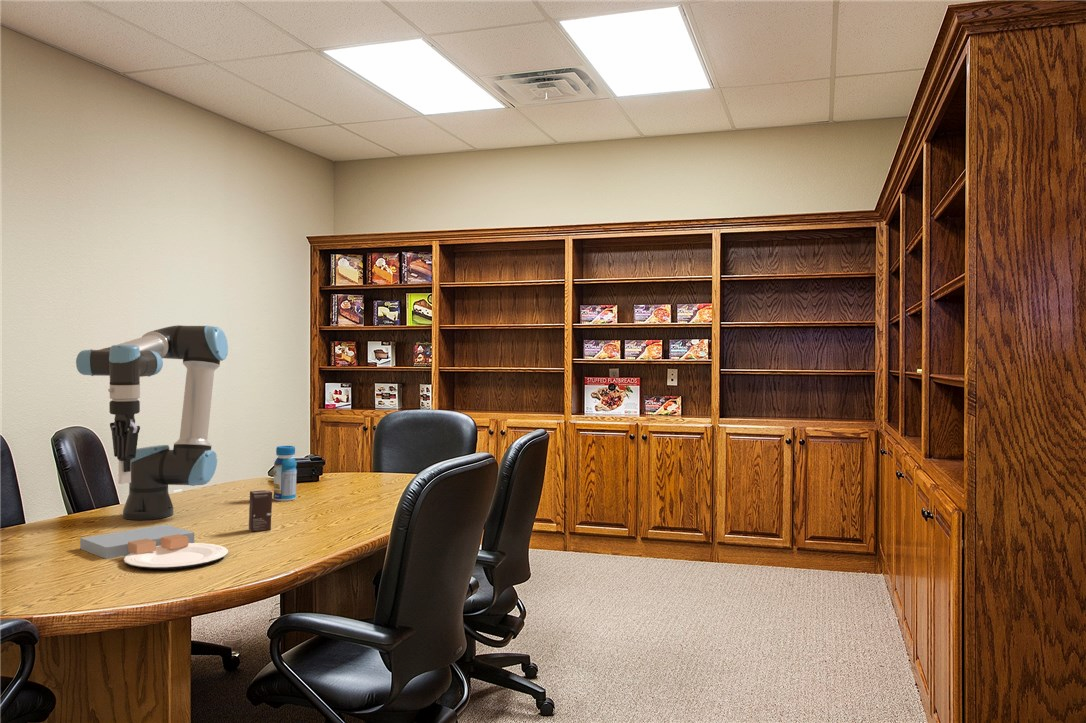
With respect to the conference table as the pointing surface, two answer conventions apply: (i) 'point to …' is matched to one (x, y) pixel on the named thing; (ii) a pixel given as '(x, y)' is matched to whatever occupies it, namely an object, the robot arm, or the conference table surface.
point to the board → (128, 540)
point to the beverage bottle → (285, 474)
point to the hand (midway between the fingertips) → (124, 482)
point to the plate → (177, 556)
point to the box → (260, 510)
